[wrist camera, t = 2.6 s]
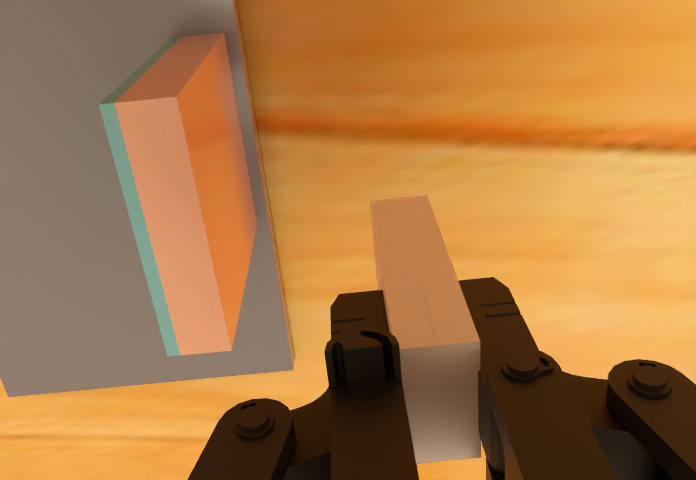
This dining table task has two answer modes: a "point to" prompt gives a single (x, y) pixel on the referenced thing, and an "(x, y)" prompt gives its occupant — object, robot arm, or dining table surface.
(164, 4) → the slate board
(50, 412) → the dining table surface
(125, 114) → the tile
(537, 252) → the dining table surface
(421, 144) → the dining table surface
